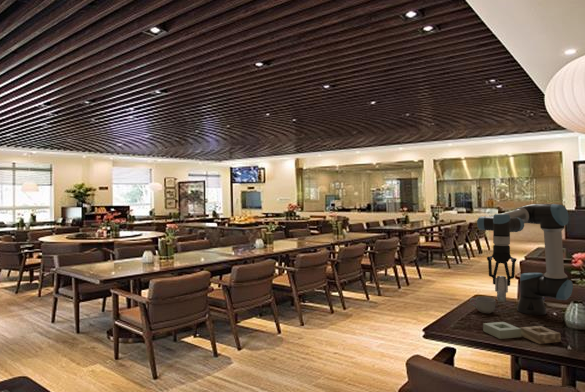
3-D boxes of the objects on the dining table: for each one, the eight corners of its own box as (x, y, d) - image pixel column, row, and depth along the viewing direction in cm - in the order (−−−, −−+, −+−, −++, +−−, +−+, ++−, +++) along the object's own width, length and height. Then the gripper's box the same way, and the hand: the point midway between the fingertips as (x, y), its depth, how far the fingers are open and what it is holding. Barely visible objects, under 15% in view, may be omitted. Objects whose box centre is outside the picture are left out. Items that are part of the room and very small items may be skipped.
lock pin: (502, 299, 211) (502, 275, 211) (507, 301, 207) (507, 277, 207) (495, 299, 210) (495, 275, 210) (500, 301, 206) (500, 277, 206)
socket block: (503, 329, 216) (503, 321, 216) (521, 337, 204) (521, 328, 204) (483, 331, 213) (483, 323, 213) (499, 338, 201) (499, 330, 201)
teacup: (496, 311, 250) (496, 297, 250) (494, 315, 241) (494, 301, 241) (471, 308, 258) (471, 295, 258) (468, 312, 249) (468, 298, 249)
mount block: (540, 333, 209) (540, 325, 209) (560, 341, 197) (560, 333, 197) (519, 335, 206) (519, 327, 206) (539, 343, 194) (539, 335, 194)
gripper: (481, 244, 210) (481, 290, 210) (520, 246, 201) (520, 295, 201) (484, 243, 216) (484, 288, 216) (521, 245, 207) (521, 292, 207)
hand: (501, 291), depth 208 cm, fingers closed on lock pin, 4 cm apart
